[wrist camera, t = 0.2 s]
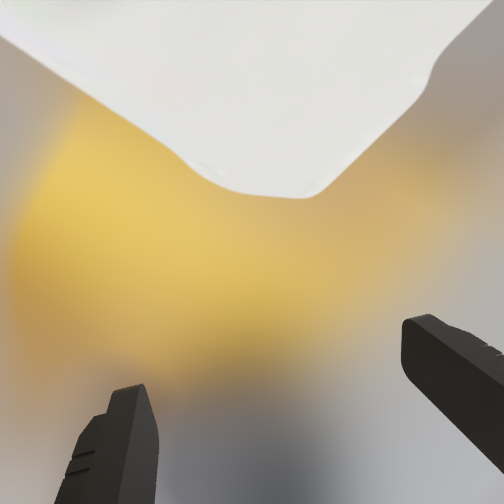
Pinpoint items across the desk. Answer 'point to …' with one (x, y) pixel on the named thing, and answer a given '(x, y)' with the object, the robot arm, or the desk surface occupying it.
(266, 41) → the desk surface
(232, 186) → the desk surface
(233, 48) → the desk surface
